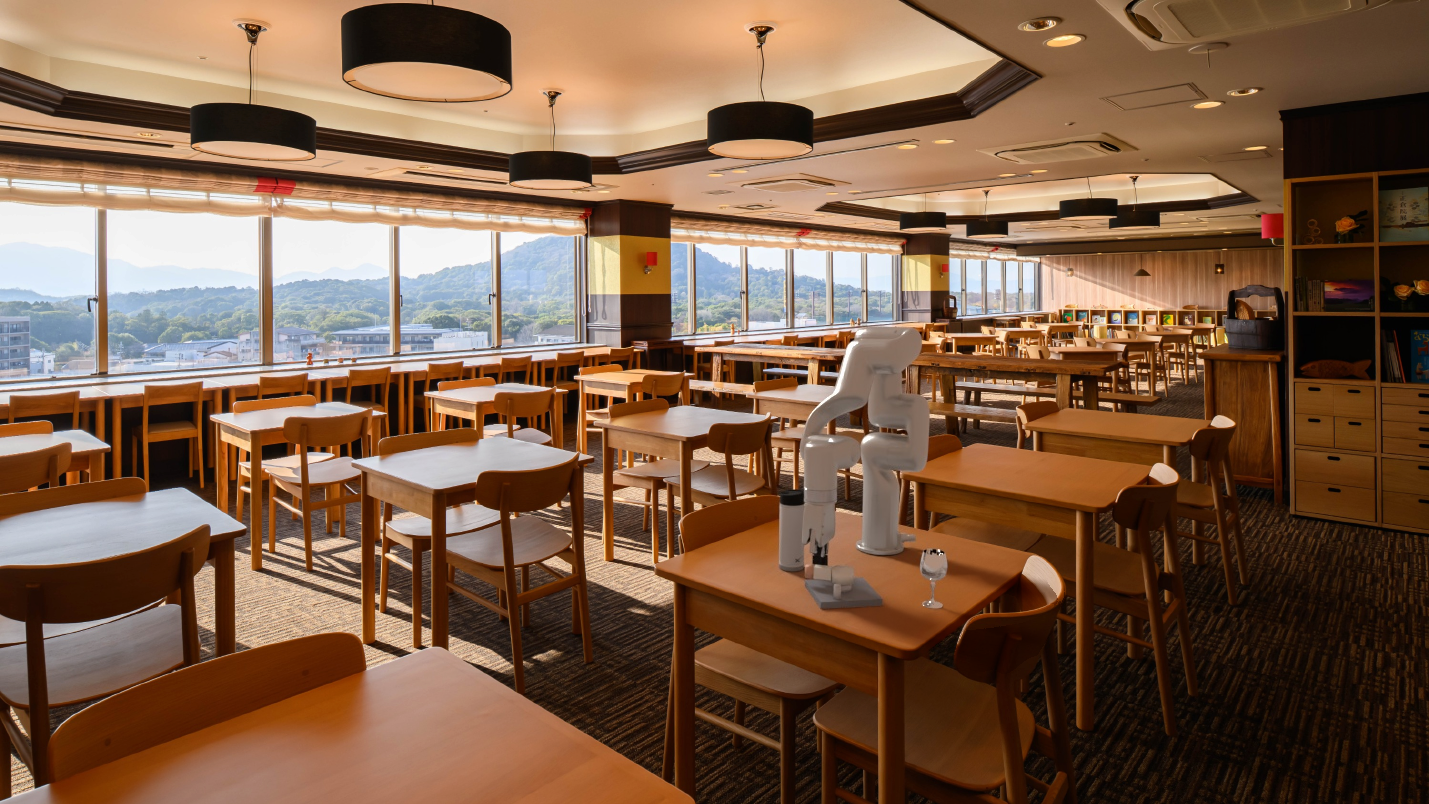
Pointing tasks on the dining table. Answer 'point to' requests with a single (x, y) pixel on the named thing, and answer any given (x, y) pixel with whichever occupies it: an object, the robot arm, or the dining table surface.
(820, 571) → the lever cap
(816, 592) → the post board
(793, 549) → the travel mug
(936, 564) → the wineglass
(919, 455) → the robot arm
